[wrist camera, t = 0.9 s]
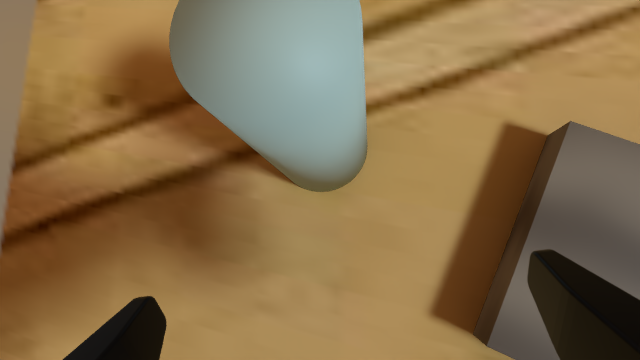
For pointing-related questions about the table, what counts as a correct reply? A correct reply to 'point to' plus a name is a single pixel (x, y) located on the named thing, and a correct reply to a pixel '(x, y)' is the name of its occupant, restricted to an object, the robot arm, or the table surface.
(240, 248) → the table surface
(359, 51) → the sage wooden pillar
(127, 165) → the table surface
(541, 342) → the grey square slab
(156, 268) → the table surface
